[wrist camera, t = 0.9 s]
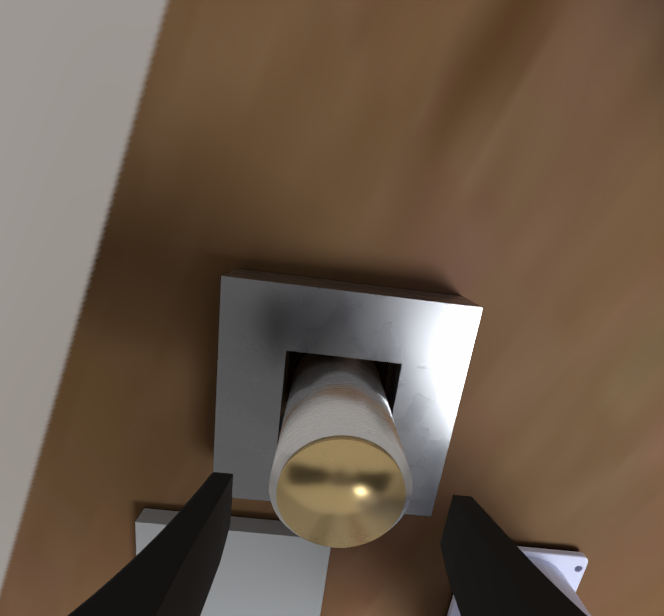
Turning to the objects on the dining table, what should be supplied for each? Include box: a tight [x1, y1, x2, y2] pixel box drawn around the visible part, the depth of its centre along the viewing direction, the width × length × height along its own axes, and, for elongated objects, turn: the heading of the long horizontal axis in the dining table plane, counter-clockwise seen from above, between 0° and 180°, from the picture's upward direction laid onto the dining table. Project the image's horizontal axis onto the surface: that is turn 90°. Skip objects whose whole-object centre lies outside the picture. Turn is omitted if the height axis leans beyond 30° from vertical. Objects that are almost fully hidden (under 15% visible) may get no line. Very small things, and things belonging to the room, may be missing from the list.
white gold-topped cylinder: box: [269, 353, 412, 548], centre depth 15 cm, size 5×5×8 cm
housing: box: [213, 268, 483, 517], centre depth 18 cm, size 12×12×2 cm
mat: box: [135, 508, 331, 616], centre depth 22 cm, size 12×12×1 cm
